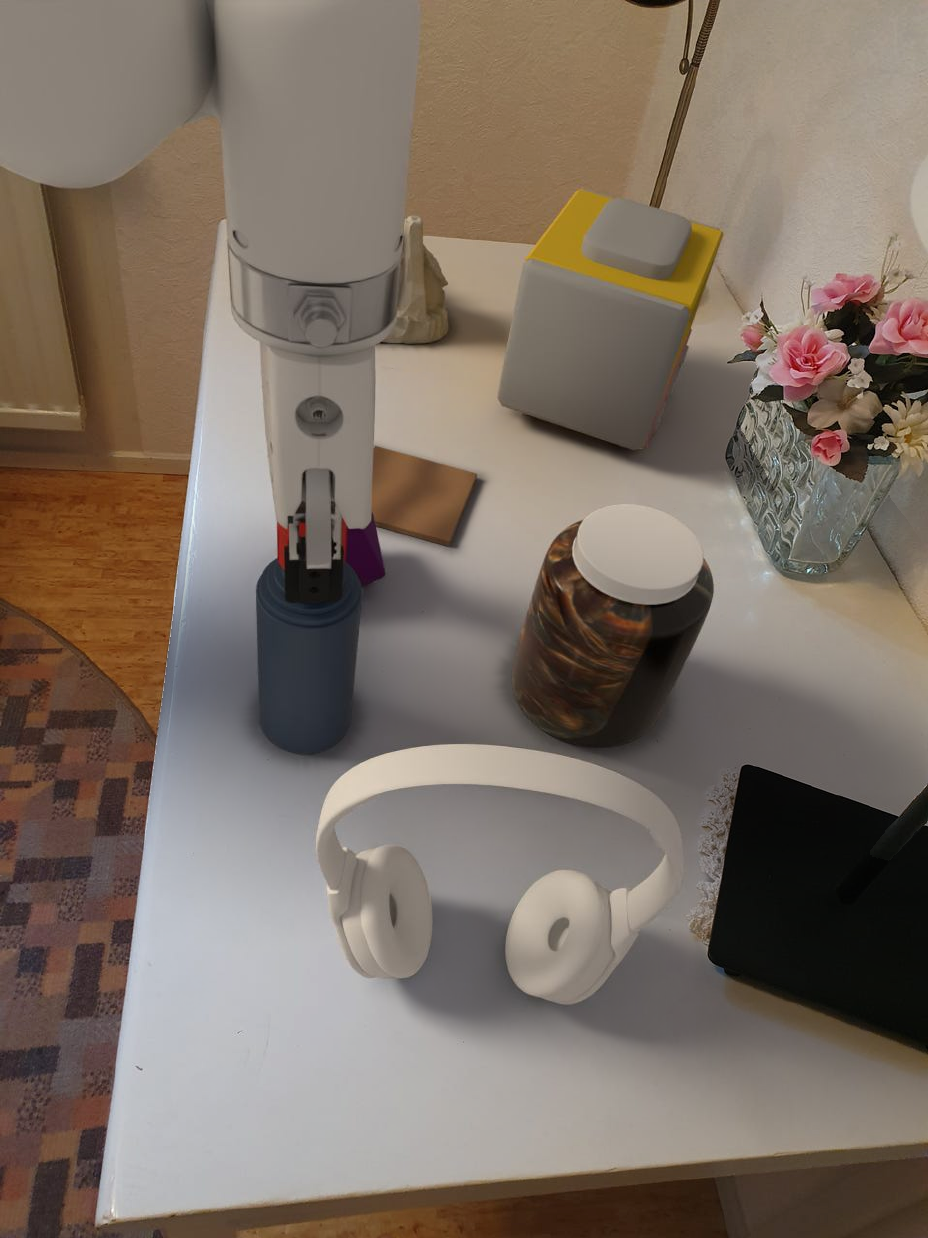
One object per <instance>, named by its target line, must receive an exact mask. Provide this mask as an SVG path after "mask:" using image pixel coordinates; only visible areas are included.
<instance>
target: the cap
mask: <svg viewBox="0 0 928 1238" xmlns="http://www.w3.org/2000/svg"><path fill="white" fill-rule="evenodd" d="M300 537H306V528H305V523H299V538H300ZM346 545H347V525H346V523H345V521H344V519H343V517H342V531H341V546H343V548H344V560H343V564H344V561H345V560H346ZM284 546H289V525H288V529H285V528H284V527H282V526H281V525H280V524H279V523H278V522H277V521H276V551H277V553H276V556H277V557H276V558H277V560H278V561H279V563H280V565H281V567H282V568H283V569H284V570H285V566H284Z"/></svg>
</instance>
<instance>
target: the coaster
mask: <svg viewBox="0 0 928 1238" xmlns="http://www.w3.org/2000/svg"><path fill="white" fill-rule="evenodd" d="M477 478H478V473H476V472H473V471H469V470H465V469H462V468H459V467H454V466H451V465H447V464H444V463H439V462H436V461H432V460H429V459H425V458H422V457H418V456H414V455H410V454H408V453H407V454H406V453H404V452H399V451H396V450H392V449H388V448H386V447H382V446H377V445H374V451H373V475H372V509H371V512H372V513H373V516H374V521H375V525H376V527H378V528H382V529H385V530H389V531H393V532H397V533H399V534H402V535H407V536H411V537H415V538H418V539H421V540H425V541H428V542H432V543H435V544H439V545H442V546H446V547H450V545H451V543H452V540H453V537H454V535H455V534H456V530H457V527H458V525H459V523H460V520H461V518H462V515H463V513H464V511H465V508H466V505H467V504H468V500H469V498H470V496H471V493H472V491H473V488H474V486H475V483H476V481H477Z"/></svg>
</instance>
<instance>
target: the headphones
mask: <svg viewBox="0 0 928 1238" xmlns="http://www.w3.org/2000/svg"><path fill="white" fill-rule="evenodd" d="M434 785H436V786H437V785H479V786H480V785H481V786H495V787H503V788H505V787H506V788H513V789H520V790H526V791H535V792H540V793H545V794H551V795H556V796H560V797H561V796H562V797H565V798H569V799H575V800H578V801H582V802H586V803H589V804H592V805H596V806H598V807H602V808H605V809H607V810H610V811H612V812H615V813H618V814H619V815H622V816H625V817H627V818H629V819H631V820H632V821H634V822H637V823H639V824H640V825H642V826H644V827H645V828H647V830H648V832H649V834H650V836H651V837H652V839H653V840H654V841H655V843H656V844H657V845H658V846H659V847H660V848H661V850H662V852H664V856H663V858H662V860H661V862H660V863H659V865H658V866H657V867H656V869H655V870H653V871H652V873H651V874H649V876H648V877H647V878H645V879H644V880H643V881H642V882H641V883H640V882H639V884H638V885H636V886H635V887H634V888H630V887H628V886H627V887H619V888H616V889H614V890H612V891H611V890H609V889H608V888H606V887H604V886H603V885H602V884H600V883H599V882H597V881H595V880H594V879H593V878H592V877H590V876H589V875H587V874H585V873H583V872H580V871H577V870H574V869H558V870H554V871H552V872H549V873H547V874H545V875H543V876H542V877H540V878H539V879H537V880H536V881H535V882H534V883H533V884H532V885H531V886H530V887H529V888H528V890H527V891H526V892H525V893H524V894H523V896H522V897H521V898H520V900H519V902H518V903H517V906H516V907H515V909H514V910H513V911H514V912H513V913H512V916H511V919H510V921H509V924H508V928H507V933H506V939H505V949H504V950H505V961H506V962H505V963H506V967H507V970H508V973H509V976H510V978H511V980H512V981H513V982H514V984H515V986H516V987H517V988H518V989H519V990H521V991H522V992H523V993H525V994H527V995H529V996H532V997H536V998H541V999H543V1000H545V1001H549V1002H554V1003H556V1004H560V1005H574V1004H578V1003H580V1002H583V1001H584V1000H586V999H588V998H590V997H591V996H592V995H593V994H594V993H596V992H597V991H598V990H599V989H600V988H601V987H602V986H603V985H604V983H605V982H606V981H607V980H608V978H609V977H610V976H611V974H612V973H613V971H614V970H615V969H616V967H617V966H618V965H619V964H620V963H621V961H622V960H623V959H624V958H625V957H626V955H627V954H628V952H629V951H630V949H631V948H632V947H633V944H634V943H635V941H636V940H637V938H638V937H639V932H640V930H642V929H643V928H644V927H646V926H647V925H648V924H650V923H651V922H652V921H654V920H655V919H656V918H658V917H659V916H660V915H662V913H663V912H665V911H666V910H667V909H668V908H669V906H670V905H671V904H673V902H674V901H675V899H676V897H677V896H678V894H679V892H680V890H681V888H682V884H683V881H684V875H685V874H684V873H685V860H684V859H685V857H684V847H683V840H682V833H681V829H680V826H679V824H678V821H677V819H676V817H675V815H674V813H673V812H672V811H671V809H670V808H669V806H668V805H666V803H665V802H664V801H663V800H662V799H661V798H660V797H658V796H657V795H656V794H655V793H654V792H652V791H651V790H649V789H648V788H646V787H645V786H644V785H642V784H640V783H639V782H636V781H635V780H634V779H631V778H629V777H627V776H625V775H623V774H621V773H618V772H616V771H614V770H612V769H608V768H606V767H603V766H600V765H598V764H595V763H592V762H588V761H586V760H583V759H579V758H576V757H575V758H574V757H571V756H566V755H561V754H558V753H552V752H547V751H542V750H536V749H527V748H522V747H513V746H507V745H506V746H504V745H494V744H480V743H479V744H477V743H454V744H453V743H449V744H446V743H445V744H433V745H423V746H417V747H410V748H404V749H399V750H393V751H390V752H387V753H383V754H380V755H376V756H374V757H371V758H369V759H366V760H363V761H362V762H360V763H358V764H356V765H355V766H353V767H351V768H350V769H348V770H347V771H346V772H345V773H344V774H342V775H341V776H340V777H339V778H338V779H336V781H335V782H334V783H333V785H332V786H331V787H330V789H329V790H328V792H327V794H326V797H325V799H324V801H323V804H322V808H321V812H320V815H319V819H318V826H317V830H316V837H315V853H316V854H315V855H316V860H317V864H318V867H319V869H320V872H321V875H322V876H323V878H324V881H325V883H326V895H327V904H328V910H329V915H330V919H331V922H332V925H333V929H334V931H335V935H336V938H337V941H338V944H339V946H340V949H341V951H342V953H343V956H344V958H345V960H346V961H347V963H348V964H349V966H350V968H352V969H353V970H354V971H355V972H356V973H357V974H358V975H360V976H361V977H364V978H366V979H375V978H377V979H389V978H396V979H406V978H410V977H412V976H413V975H415V974H416V973H417V972H419V970H420V969H421V968H422V966H423V965H424V963H425V961H426V959H427V957H428V954H429V951H430V946H431V942H432V937H433V907H432V900H431V895H430V894H431V893H430V890H429V886H428V882H427V880H426V877H425V873H424V872H423V870H422V867H421V865H420V864H419V862H418V860H417V859H416V858H415V856H414V855H413V854H412V853H411V852H410V851H409V850H408V849H406V847H405V848H404V847H403V846H401V845H397V844H385V845H381V846H377V847H376V848H369V849H365V850H363V851H357V852H354V851H353V850H352V849H350V848H348V847H342V845H341V842H340V840H339V838H338V835H337V832H336V826H337V825H338V823H339V822H340V821H341V820H342V819H343V818H345V817H346V816H347V815H348V814H350V813H351V812H353V811H354V810H356V809H358V808H360V807H362V806H364V805H366V804H369V803H372V802H373V801H375V800H377V799H378V798H379V797H380V796H381V795H383V793H385V792H390V791H393V790H394V791H395V790H398V789H407V788H412V787H421V786H434Z"/></svg>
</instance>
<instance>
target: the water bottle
mask: <svg viewBox="0 0 928 1238" xmlns="http://www.w3.org/2000/svg"><path fill="white" fill-rule="evenodd" d="M363 593H364V592H363V588H362V586H361V583H360V581H359V579H358V577H357V575H356V573H355V571H354V570H353V569H352V567H351V566H350V565H349V564H348V563H346V562H345V561H344V564H343V581H342V598H341V600H339V601H337V602H315V603H289V602H287V601H286V600H285V570H284V569H283V568H282V567H281V565H280V563H279V561H278V560H277V557H276V558H274V559H273V560H272V561H271V562H269V563H268V564H267V565H266V567H265V568H264V569H263V571H262V573H261V574H260V575H259V578H258V579H257V581H256V585H255V607H256V608H255V611H256V612H255V615H256V651H257V654H256V655H257V689H258V721H259V726H260V728H261V731H262V733H263V734H264V736H265V737H266V738H267V739H268V741H270V742H271V743H272V744H273V745H275V746H276V747H277V748H280V749H282V750H284V751H286V752H289V753H293V754H300V755H303V754H305V755H307V754H309V755H310V754H317V753H320V752H323V751H326V750H328V749H331V748H332V747H333V746H335V745H337V744H338V743H339V742H340V741H341V740H342V739H343V738H344V736H345V735H346V734H347V732H348V730H349V727H350V725H351V721H352V711H353V710H352V709H353V701H354V689H355V680H356V679H355V678H356V668H357V660H358V659H357V658H358V647H359V637H360V627H361V616H362V606H363Z"/></svg>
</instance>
